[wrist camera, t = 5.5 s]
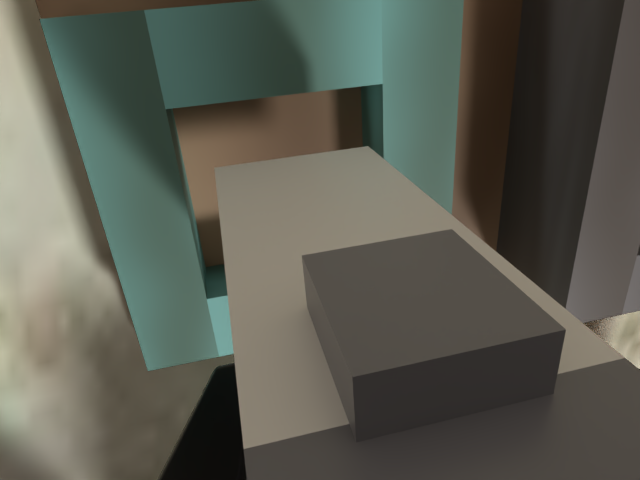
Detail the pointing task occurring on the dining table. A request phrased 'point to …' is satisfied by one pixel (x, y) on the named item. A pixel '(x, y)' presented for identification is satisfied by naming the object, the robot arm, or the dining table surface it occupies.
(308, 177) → the plug
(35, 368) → the dining table surface
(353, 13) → the dock
